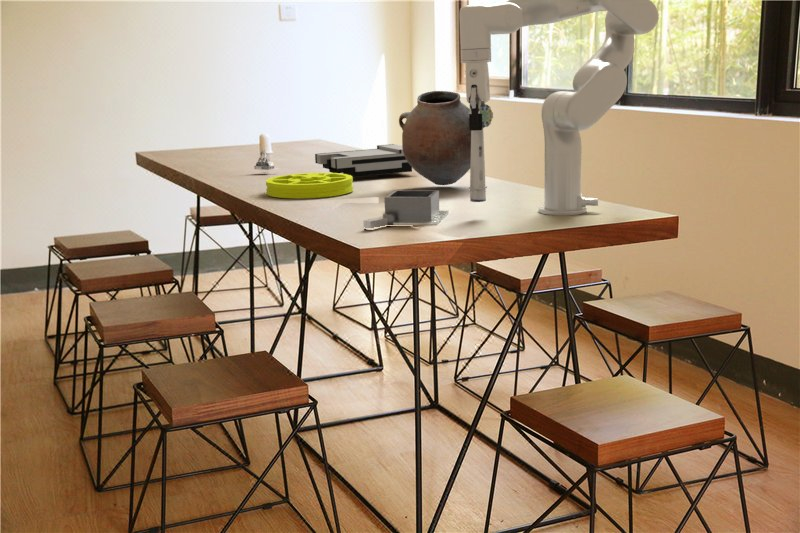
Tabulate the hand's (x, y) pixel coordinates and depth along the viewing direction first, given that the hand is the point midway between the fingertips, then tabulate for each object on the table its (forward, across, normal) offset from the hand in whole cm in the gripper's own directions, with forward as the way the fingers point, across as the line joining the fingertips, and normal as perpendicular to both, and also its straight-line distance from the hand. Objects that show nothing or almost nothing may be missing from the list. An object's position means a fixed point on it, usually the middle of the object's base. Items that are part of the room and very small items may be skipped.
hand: (478, 128), depth 239 cm
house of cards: (+24, +108, +96) cm, 147 cm away
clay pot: (+24, +62, +21) cm, 69 cm away
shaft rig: (+23, 0, +18) cm, 29 cm away
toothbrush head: (+19, 0, 0) cm, 19 cm away
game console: (+24, +97, +54) cm, 113 cm away
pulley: (+24, +50, +62) cm, 83 cm away
